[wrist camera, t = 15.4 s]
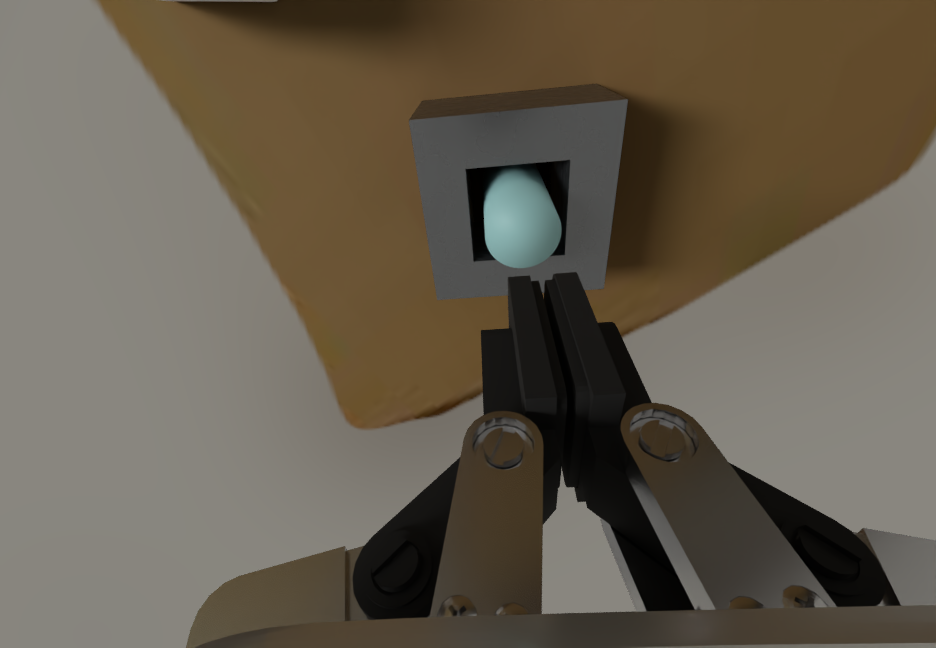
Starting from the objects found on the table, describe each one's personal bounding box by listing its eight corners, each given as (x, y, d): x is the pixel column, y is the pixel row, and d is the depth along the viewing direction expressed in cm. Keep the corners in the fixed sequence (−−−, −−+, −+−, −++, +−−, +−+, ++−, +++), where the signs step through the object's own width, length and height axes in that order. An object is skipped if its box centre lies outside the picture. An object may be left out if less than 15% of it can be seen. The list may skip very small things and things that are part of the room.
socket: (421, 100, 28) (408, 120, 23) (596, 83, 28) (628, 99, 22) (443, 255, 35) (437, 299, 30) (582, 245, 35) (603, 288, 29)
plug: (480, 153, 30) (482, 200, 22) (539, 148, 30) (563, 193, 22) (484, 210, 33) (487, 270, 25) (538, 206, 33) (559, 265, 25)
